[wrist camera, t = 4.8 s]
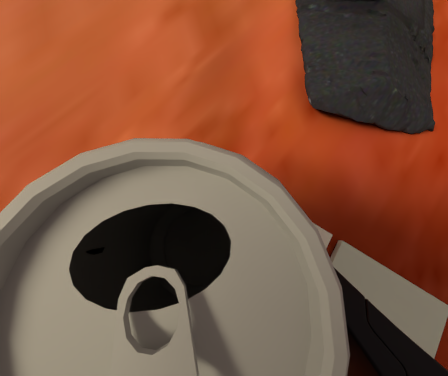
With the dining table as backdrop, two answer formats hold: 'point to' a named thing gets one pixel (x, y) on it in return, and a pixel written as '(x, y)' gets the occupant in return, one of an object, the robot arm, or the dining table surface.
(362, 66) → the dark slate chunk
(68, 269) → the can
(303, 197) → the dining table surface
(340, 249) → the pad
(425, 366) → the robot arm
